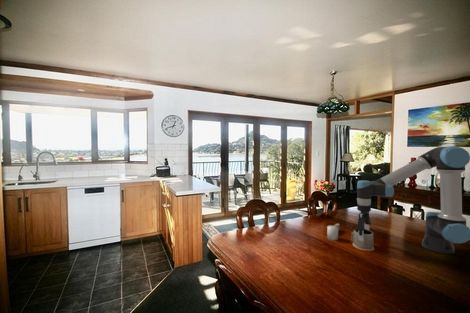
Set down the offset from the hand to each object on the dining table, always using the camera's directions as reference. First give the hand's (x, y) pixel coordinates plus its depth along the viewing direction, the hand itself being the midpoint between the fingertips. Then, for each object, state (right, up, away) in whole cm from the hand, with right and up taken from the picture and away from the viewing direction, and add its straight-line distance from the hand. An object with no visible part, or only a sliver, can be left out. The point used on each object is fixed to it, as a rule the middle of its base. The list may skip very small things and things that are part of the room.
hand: (364, 237), depth 137 cm
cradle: (-2, -6, +19) cm, 20 cm away
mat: (0, -6, 0) cm, 6 cm away
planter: (0, -6, 0) cm, 6 cm away
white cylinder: (-14, -6, +13) cm, 20 cm away
